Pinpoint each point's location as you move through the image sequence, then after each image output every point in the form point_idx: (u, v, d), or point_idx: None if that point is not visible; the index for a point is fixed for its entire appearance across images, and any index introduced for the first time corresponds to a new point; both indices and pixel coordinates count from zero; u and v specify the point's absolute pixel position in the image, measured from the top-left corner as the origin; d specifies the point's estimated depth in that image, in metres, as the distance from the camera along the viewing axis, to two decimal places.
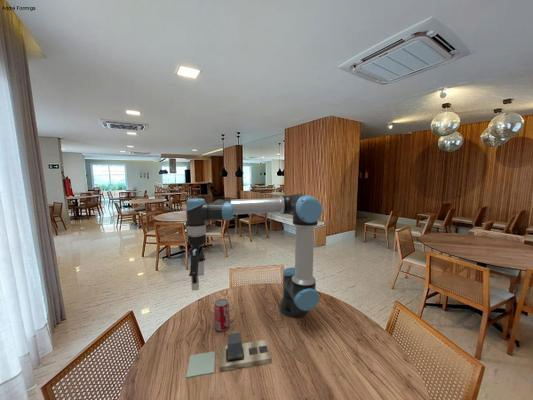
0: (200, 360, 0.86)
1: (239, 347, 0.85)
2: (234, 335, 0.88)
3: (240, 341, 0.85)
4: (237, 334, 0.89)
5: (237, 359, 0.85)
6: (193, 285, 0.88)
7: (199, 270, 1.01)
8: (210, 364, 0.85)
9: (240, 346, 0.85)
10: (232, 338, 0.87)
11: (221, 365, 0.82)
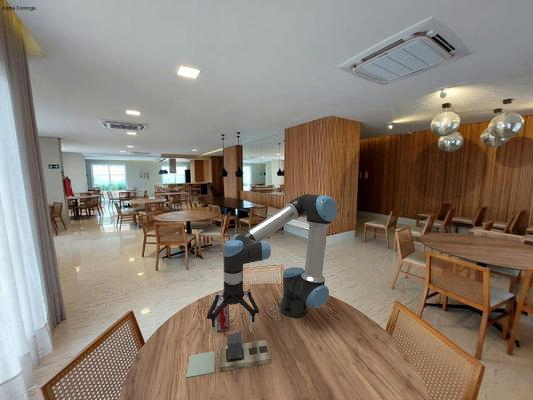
0: (200, 360, 0.86)
1: (239, 347, 0.85)
2: (234, 335, 0.88)
3: (240, 341, 0.85)
4: (237, 334, 0.89)
5: (237, 359, 0.85)
6: None
7: (249, 322, 0.88)
8: (210, 364, 0.85)
9: (240, 346, 0.85)
10: (232, 338, 0.87)
11: (221, 365, 0.82)
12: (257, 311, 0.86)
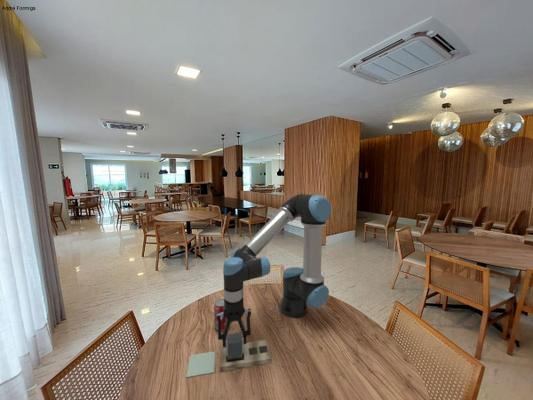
0: (200, 360, 0.86)
1: (239, 347, 0.85)
2: (234, 335, 0.88)
3: (240, 341, 0.85)
4: (237, 334, 0.89)
5: (237, 359, 0.85)
6: None
7: None
8: (210, 364, 0.85)
9: (240, 346, 0.85)
10: (232, 338, 0.87)
11: (221, 365, 0.82)
12: (249, 333, 0.87)
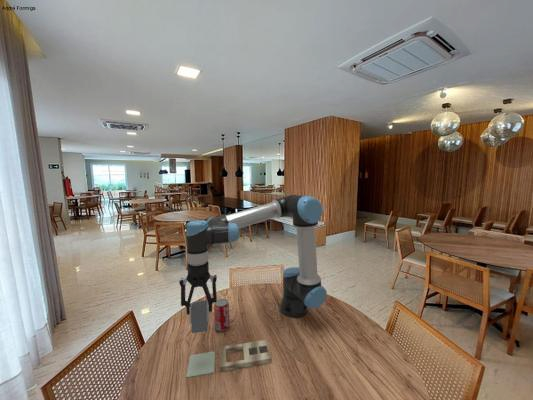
0: (200, 360, 0.86)
1: (203, 314, 0.81)
2: (199, 302, 0.84)
3: (204, 308, 0.81)
4: (203, 301, 0.85)
5: (201, 326, 0.81)
6: None
7: None
8: (210, 364, 0.85)
9: (204, 313, 0.81)
10: (197, 305, 0.82)
11: (221, 365, 0.82)
12: (214, 300, 0.83)
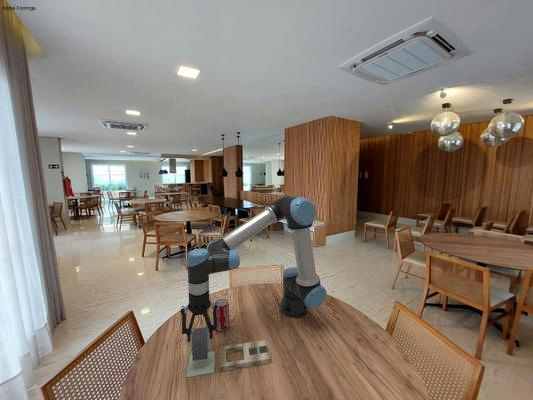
0: (200, 360, 0.86)
1: (204, 342, 0.82)
2: (200, 329, 0.85)
3: (205, 335, 0.82)
4: (203, 328, 0.86)
5: (202, 354, 0.82)
6: None
7: None
8: (210, 364, 0.85)
9: (205, 341, 0.82)
10: (198, 333, 0.84)
11: (221, 365, 0.82)
12: (215, 327, 0.84)
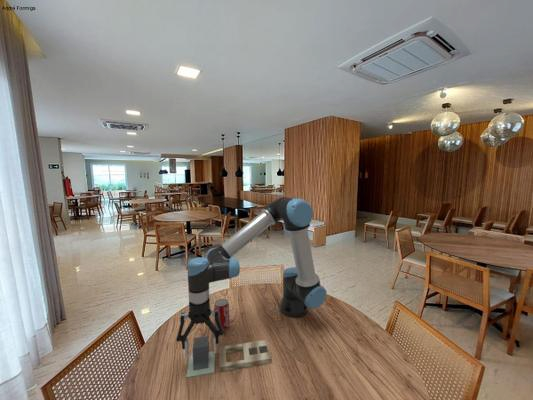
0: None
1: (204, 351, 0.82)
2: (201, 339, 0.86)
3: (206, 345, 0.82)
4: (204, 337, 0.86)
5: (203, 364, 0.82)
6: None
7: None
8: (210, 364, 0.85)
9: (206, 350, 0.82)
10: (199, 342, 0.84)
11: (221, 365, 0.82)
12: (221, 332, 0.84)
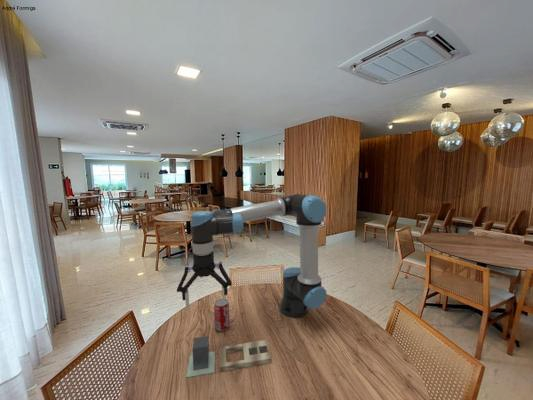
0: None
1: (204, 351, 0.82)
2: (201, 339, 0.86)
3: (206, 345, 0.82)
4: (204, 337, 0.86)
5: (203, 364, 0.82)
6: None
7: None
8: (210, 364, 0.85)
9: (206, 350, 0.82)
10: (199, 342, 0.84)
11: (221, 365, 0.82)
12: (229, 283, 0.84)
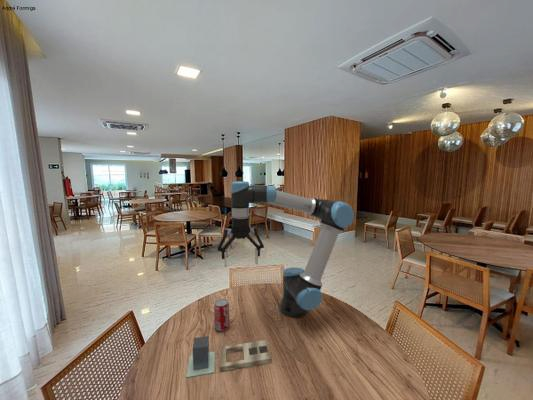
0: None
1: (204, 351, 0.82)
2: (201, 339, 0.86)
3: (206, 345, 0.82)
4: (204, 337, 0.86)
5: (203, 364, 0.82)
6: None
7: (255, 257, 0.97)
8: (210, 364, 0.85)
9: (206, 350, 0.82)
10: (199, 342, 0.84)
11: (221, 365, 0.82)
12: (262, 246, 0.96)
